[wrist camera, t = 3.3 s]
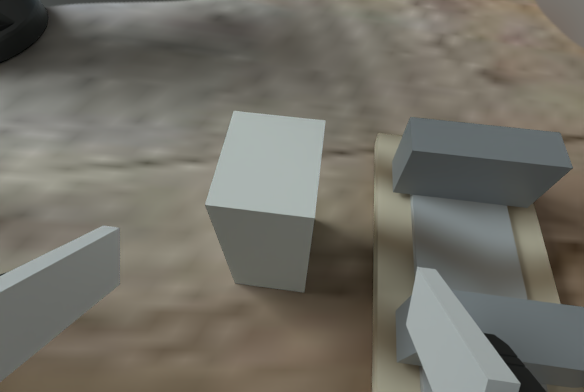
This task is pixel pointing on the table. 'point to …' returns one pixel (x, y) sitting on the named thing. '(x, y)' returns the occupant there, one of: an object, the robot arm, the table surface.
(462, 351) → the robot arm
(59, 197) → the table surface
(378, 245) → the mounting board
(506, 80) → the table surface
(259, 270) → the block
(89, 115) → the table surface
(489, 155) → the mounted modules
